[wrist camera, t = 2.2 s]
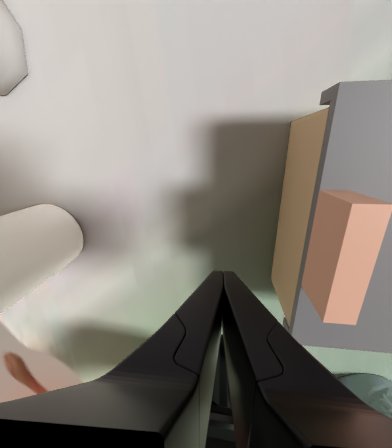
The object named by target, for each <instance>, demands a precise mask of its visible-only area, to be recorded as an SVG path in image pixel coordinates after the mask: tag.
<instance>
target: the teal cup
mask: <svg viewBox="0 0 392 448" xmlns="http://www.w3.org/2000/svg"><path fill="white" fill-rule="evenodd" d="M339 380H340V381H341V382H342V383H343V384H344V385H345V386H346V387H347V388H349V389H350V390H351V391H352V392H353V393H354V394H355V395H356V396H358V397H359V398H360V399H361V400H363V401H364V402H365V403H367V404H368V405H369V406H371V407H372V408H374V409H375V410H377V411H378V412H380V413H382V414H384V415H386V416H388V417H390V418H392V381H390V380H388V379H387V378H385V377H382V376H379V375H374V374H353V375H348V376H345V377H342V378H339Z"/></svg>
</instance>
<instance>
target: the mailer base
mask: <svg viewBox="0 0 392 448" xmlns="http://www.w3.org/2000/svg"><path fill="white" fill-rule="evenodd" d="M328 113H329V107H328V108H326V109H323V110H320V111H318V112H315V113H313V114H310V115H308V116H305V117H303V118H300V119H297V120H295V121H292V122H291V129H290V136H289V144H288V151H287V159H286V167H285V174H284V182H283V189H282V197H281V205H280V212H279V220H278V228H277V235H276V243H275V250H274V258H273V266H272V273H271V280H272V283H273V286H274V288H275V291H276V294H277V296H278V299H279V301H280V304H281V307H282V309H283V312H284V315H285V317H286V320H287V323H288V325H289V326H290V321H291V315H292V310H293V305H294V299H295V294H296V288H297V283H298V277H299V272H300V266H301V261H302V255H303V250H304V244H305V239H306V233H307V228H308V222H309V217H310V211H311V206H312V200H313V195H314V190H315V184H316V179H317V173H318V168H319V162H320V157H321V151H322V146H323V140H324V135H325V129H326V124H327V118H328Z"/></svg>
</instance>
